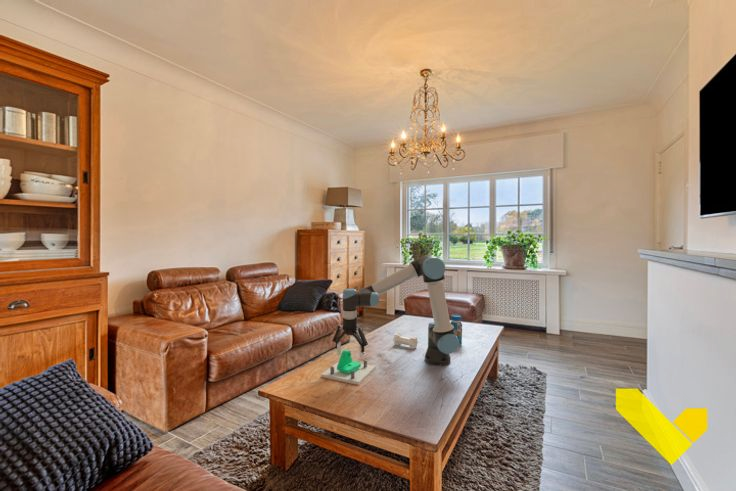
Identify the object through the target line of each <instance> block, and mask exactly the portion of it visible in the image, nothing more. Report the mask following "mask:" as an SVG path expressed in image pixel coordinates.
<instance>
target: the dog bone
mask: <svg viewBox="0 0 736 491" xmlns="http://www.w3.org/2000/svg"><path fill="white" fill-rule="evenodd" d="M392 341H393V345H394V346H396V347H398V346H401V345H404V346H409V349H411V350H414V349H417V347H418V343H419V341H418V337H417V336H416V335H412V336H411V337H406V336H402V333H400V332H398V333H396V334H394V337H393V339H392Z"/></svg>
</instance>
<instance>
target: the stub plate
mask: <svg viewBox="0 0 736 491" xmlns="http://www.w3.org/2000/svg"><path fill="white" fill-rule="evenodd" d="M338 363H339V361H337V362H336V363H335V364H333V365H332V366H330V367H329V368H327V369H326V370H325V371H323V372H322V373H321V375H320V377H321V378H323V379H329V380H333V381H338V382H339V381H340V382H344V383H347V384H348V383H349V384H352V385H358V386H359V385H360V384H361V383H362V382H364V381H365V380H366V379H367V378H368V377H369V376H370V375H371V374H372V373H373V372H374V371H375V370H376V368H377V366H376V365H371V364H368V359H363V363H361V367H359V368H358V370H357V371H354V370H352V371H351V373H345V372H342V371H339V370H337V365H338Z"/></svg>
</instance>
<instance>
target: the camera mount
mask: <svg viewBox="0 0 736 491" xmlns="http://www.w3.org/2000/svg"><path fill="white" fill-rule="evenodd" d="M338 362H339V363H338V365H337V370H339V371H342V372H345V373H351V371H352V370H354V371H357V370H358V368H359V367H361V364H362V363H361V362H358V361H356V360H353V359H352V352H351V350H347V349H343V350H342V351H341V354H340V358H339V360H338Z"/></svg>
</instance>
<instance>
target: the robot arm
mask: <svg viewBox="0 0 736 491" xmlns="http://www.w3.org/2000/svg"><path fill="white" fill-rule="evenodd" d="M445 272H446V264H445V263H444V261H443V259H441V258H439V257H438V256H435V255H429V254H424V255H422V256H420V257H418V258H416V259H415V260H413V261H411V262H409V264H408V265H407V266H406V267H403V268H401V269H399V270H398V271H396V272H394V273H391V274H390V275H388V276H385V277H384V278H382V279H380V280H378V281H377V282H373V283H372V284H371V285H369V286H365V287H362V288H361V289H360V290H359V292H357V291H358V290H357V289H356V288H345V289H343V291H342V324H339V325H337V330H336V332H335V334H334V335H333V338H332V342H334V343H335V349H336V355H337V356H341V354H342V350H341V349H342V348H341V345H342V343H341V341H342V339H343V338H344V336H346V335H347V336H353V337H354V338H355V340H356V341H357V343H358V344H359V360H362V359H363V358H364V352H365V347H366V346H368V344H369V343H368V341H367V339H366V337H365V334H364V332H363V327H362V326H360V327H357V325H358V323H357V322H358V320H357V315H358V312H357V308H358V307H372V308H373V307H378V305H379V304H380V296H381V295H383V294H384V293H387V292H389V291H390V290H392V289H394V288H396V287H398V286H400V285H402V284H405V283H406V282H408V281H410V280H412V279H414V278H416V279H418V278H420V277H421V276H422V279H423V283H424V284H425V285H427V291H428V297H429V301H430V302H429V303H430V307H431V312H432V313H431V314H432V317H433V321H432V322H429V323H428V328H427V329H428V330H427V331H428V332H427V338H428V339H427V349H426V352H425V354H424V362H426V363H427V364H430V365H433V366H434V365H435V366H446V365H447V366H448V365H449V364H450V363H451V355H452V354H454V353H455V352H456V351H457V350H458V349H459V347H460V346H459V340H458V338H457V336H456V335H455V331H454V326H453V325H451V324H450V323H451V320H450V319H451V318H450V314H449V310H448V309H449V308H448V305H447V304H448V303H447V298H446V293H445V289H444V288H445V287H444V281H445V278H446V277H445ZM342 330H343V332H341V331H342ZM340 333H341V334H340Z"/></svg>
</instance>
